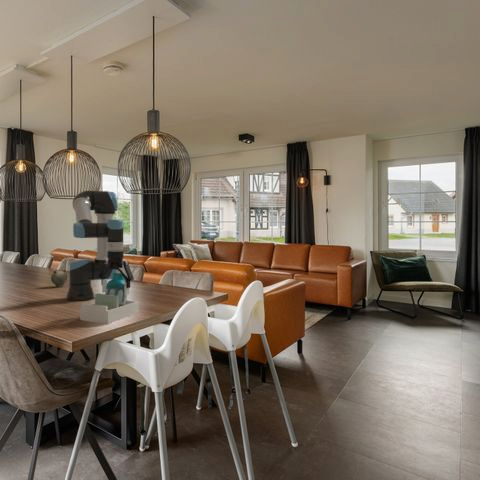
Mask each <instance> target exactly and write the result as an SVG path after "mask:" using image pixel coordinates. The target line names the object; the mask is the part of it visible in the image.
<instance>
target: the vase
mask: <svg viewBox="0 0 480 480" xmlns="http://www.w3.org/2000/svg"><path fill="white" fill-rule="evenodd" d="M125 281H126V280H125V279H124V277H123V276H122V274H121V273H118V272H116V273H114V274H113V278H112V279H110V280H109V281H107V286H106V291H105V292H104V294H107V295H117V296H119V307H121V306H124V305H126V301H127V300H128V295H124V282H125Z"/></svg>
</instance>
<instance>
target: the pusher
mask: <svg viewBox="0 0 480 480" xmlns="http://www.w3.org/2000/svg"><path fill="white" fill-rule="evenodd" d="M94 304H95V305H102V306H108V310H111V309H114V308H118V307H119V296H117V295H107V294H105V293H94Z"/></svg>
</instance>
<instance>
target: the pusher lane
mask: <svg viewBox="0 0 480 480" xmlns="http://www.w3.org/2000/svg"><path fill="white" fill-rule="evenodd" d="M79 313H80V314H79V315H80V318H79V319H80V321H82V322H91V323H98V324H104V323H107V325H110V324H112V322H113V323H115V322H118V321H120V319H121V320H123V319H122V318H124V319H126V318H128V316H129V317H132V316H135V315H137V314H140V301H136V300H128V299H127V301H126V305H124V306H121V307H118V308H114V309H111V310H108V306H102V305H95V303H93V304H92V303H82V305H81V307H80V312H79ZM136 313H137V314H136ZM134 314H135V315H134ZM131 315H132V316H131ZM125 317H126V318H125ZM117 320H118V321H117ZM114 321H115V322H114ZM109 323H110V324H109Z"/></svg>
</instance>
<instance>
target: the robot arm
mask: <svg viewBox="0 0 480 480" xmlns="http://www.w3.org/2000/svg"><path fill="white" fill-rule="evenodd" d="M118 205H119V204H118V198H117V194H116V193H115V192H113V191H108V190H104V191H103V190H84V191H81V192H80V193H78V194H76V195H75V196H74V197H73V199H72V208H73V210H74V213H75V221H76V222H74V223H73V225H72V229H73V231H72V232H73V233H72V234H73V237H74V238H77V239H96V238H97V240H96V241H97V242H96V249H97V250H96V255H95V257H94V259H93V260H91V258H81V259H77V260H76V259H75V260H73V261H71V262H70V263H69V267H68V268H69V269H68V270H69V287H68V290H67V294H66V300H67V301H74V302H75V301H86V300H92V299H95V293H94V292H93V287H92V281H98V280H99V281H100V280H101V281H100V282H101V283H100V284H101V291H102V293H101V294H105V291H106V286H107V283H108V280H112V278H113V274H114V273H118V272H120V274H122V276H123V277H124V279H125V282H124V295H127V296H128V295H130V288H131V281H133V280H134V281H135V278H134V275H133V273H132V269H131V267H130V265H129V261H128V260H123V259H124V249H125V248H124V247H125V246H124V245H125V244H124V227H125V226H124V220H123V219H114V218H113V216H114V215H116V212H117V211H118V209H119V207H118ZM91 211H94V215H96V218H97V219H96V220H97V221H96V222H93V219H92V213H91Z"/></svg>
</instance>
